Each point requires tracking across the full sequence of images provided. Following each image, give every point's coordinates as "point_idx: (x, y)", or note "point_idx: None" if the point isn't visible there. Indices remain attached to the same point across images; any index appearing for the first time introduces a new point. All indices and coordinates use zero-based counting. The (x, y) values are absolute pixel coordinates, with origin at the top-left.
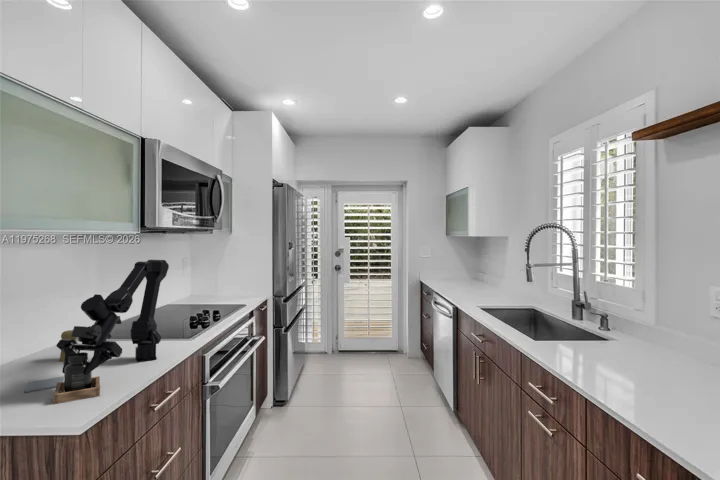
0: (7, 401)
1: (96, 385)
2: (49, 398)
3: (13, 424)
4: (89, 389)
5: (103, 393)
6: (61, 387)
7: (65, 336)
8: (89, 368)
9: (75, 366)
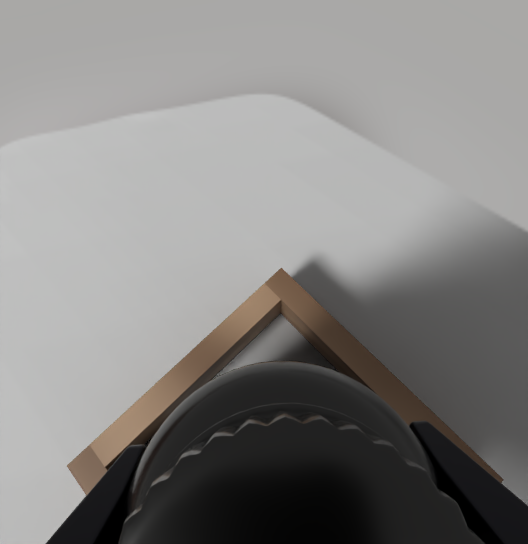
0: None
1: None
2: (381, 343)
3: (258, 98)
4: (124, 414)
5: None
6: None
7: None
8: (84, 509)
9: (212, 406)
